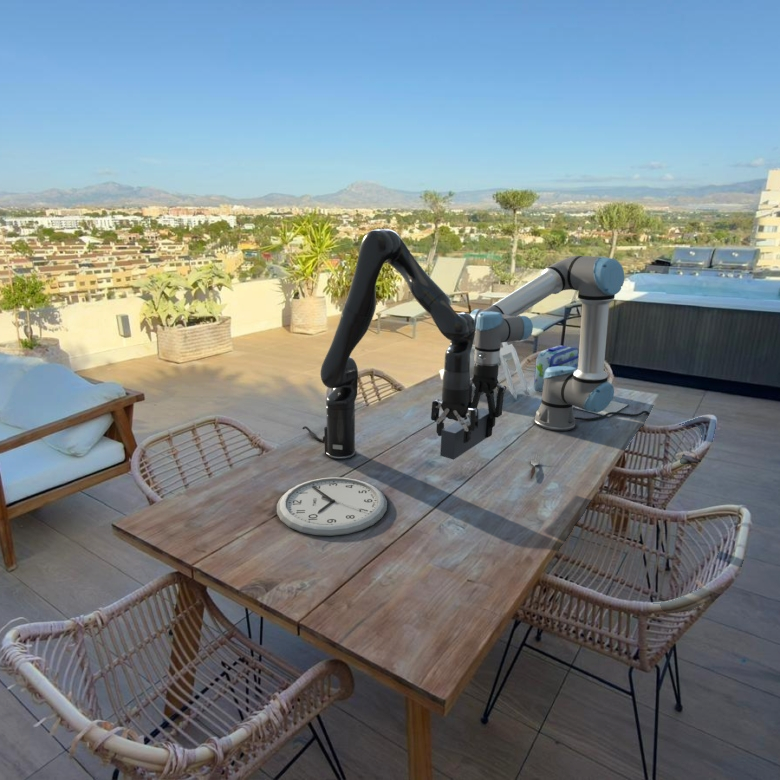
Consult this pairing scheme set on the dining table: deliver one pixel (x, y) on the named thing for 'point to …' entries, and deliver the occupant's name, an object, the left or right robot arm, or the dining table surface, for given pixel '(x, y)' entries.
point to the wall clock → (331, 506)
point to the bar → (462, 436)
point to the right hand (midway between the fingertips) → (481, 434)
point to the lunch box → (554, 362)
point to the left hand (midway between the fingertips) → (453, 438)
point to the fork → (534, 465)
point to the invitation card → (609, 408)
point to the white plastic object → (505, 355)
